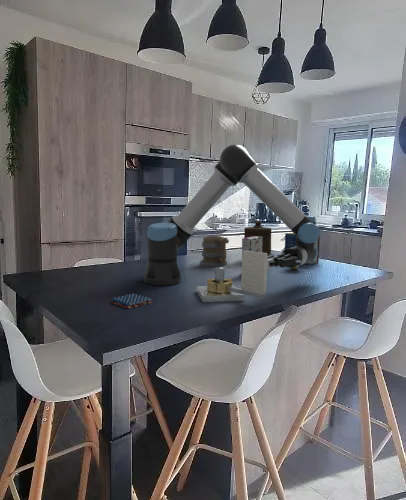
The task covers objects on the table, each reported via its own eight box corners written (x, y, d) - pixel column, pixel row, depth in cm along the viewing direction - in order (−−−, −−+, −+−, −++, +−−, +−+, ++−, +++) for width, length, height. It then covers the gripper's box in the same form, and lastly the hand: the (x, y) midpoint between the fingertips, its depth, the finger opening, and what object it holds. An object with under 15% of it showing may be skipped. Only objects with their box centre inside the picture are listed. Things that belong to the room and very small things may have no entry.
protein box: (295, 259, 211) (296, 232, 209) (318, 263, 200) (320, 234, 197) (283, 261, 205) (284, 233, 202) (307, 265, 193) (308, 235, 191)
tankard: (197, 262, 195) (197, 234, 193) (218, 261, 200) (219, 233, 198) (214, 269, 177) (215, 238, 175) (237, 268, 182) (238, 237, 180)
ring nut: (202, 289, 129) (203, 247, 127) (217, 285, 135) (218, 245, 133) (257, 301, 115) (259, 254, 113) (271, 296, 121) (272, 252, 119)
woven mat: (155, 303, 121) (155, 297, 121) (128, 311, 113) (128, 304, 113) (135, 297, 128) (135, 292, 128) (108, 304, 120) (108, 298, 120)
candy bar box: (252, 270, 177) (254, 236, 175) (262, 271, 174) (263, 236, 172) (240, 273, 168) (241, 237, 166) (250, 275, 165) (251, 238, 163)
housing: (203, 302, 122) (203, 272, 120) (196, 291, 135) (196, 264, 134) (244, 300, 124) (245, 271, 123) (233, 290, 138) (234, 263, 137)
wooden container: (252, 257, 214) (253, 219, 211) (275, 260, 205) (277, 220, 202) (238, 260, 203) (239, 220, 200) (261, 264, 193) (263, 222, 190)
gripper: (309, 268, 140) (279, 278, 122) (278, 264, 149) (246, 273, 131) (310, 248, 139) (280, 256, 121) (279, 245, 148) (246, 252, 130)
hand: (262, 264), depth 126 cm, fingers closed
